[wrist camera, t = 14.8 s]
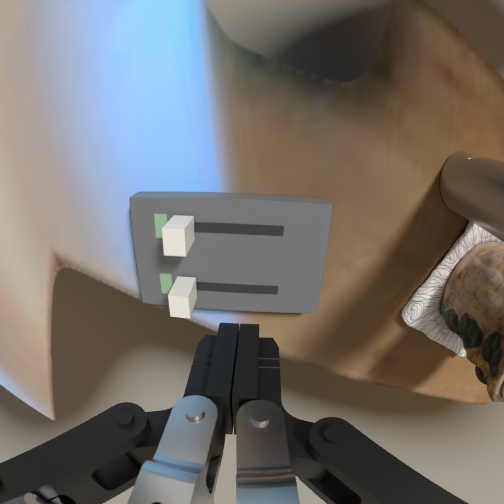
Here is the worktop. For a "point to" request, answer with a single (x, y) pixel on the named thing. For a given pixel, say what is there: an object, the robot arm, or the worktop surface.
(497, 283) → the cookie jar
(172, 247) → the block
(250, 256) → the slider control panel
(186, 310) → the block
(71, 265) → the worktop surface
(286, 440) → the robot arm
